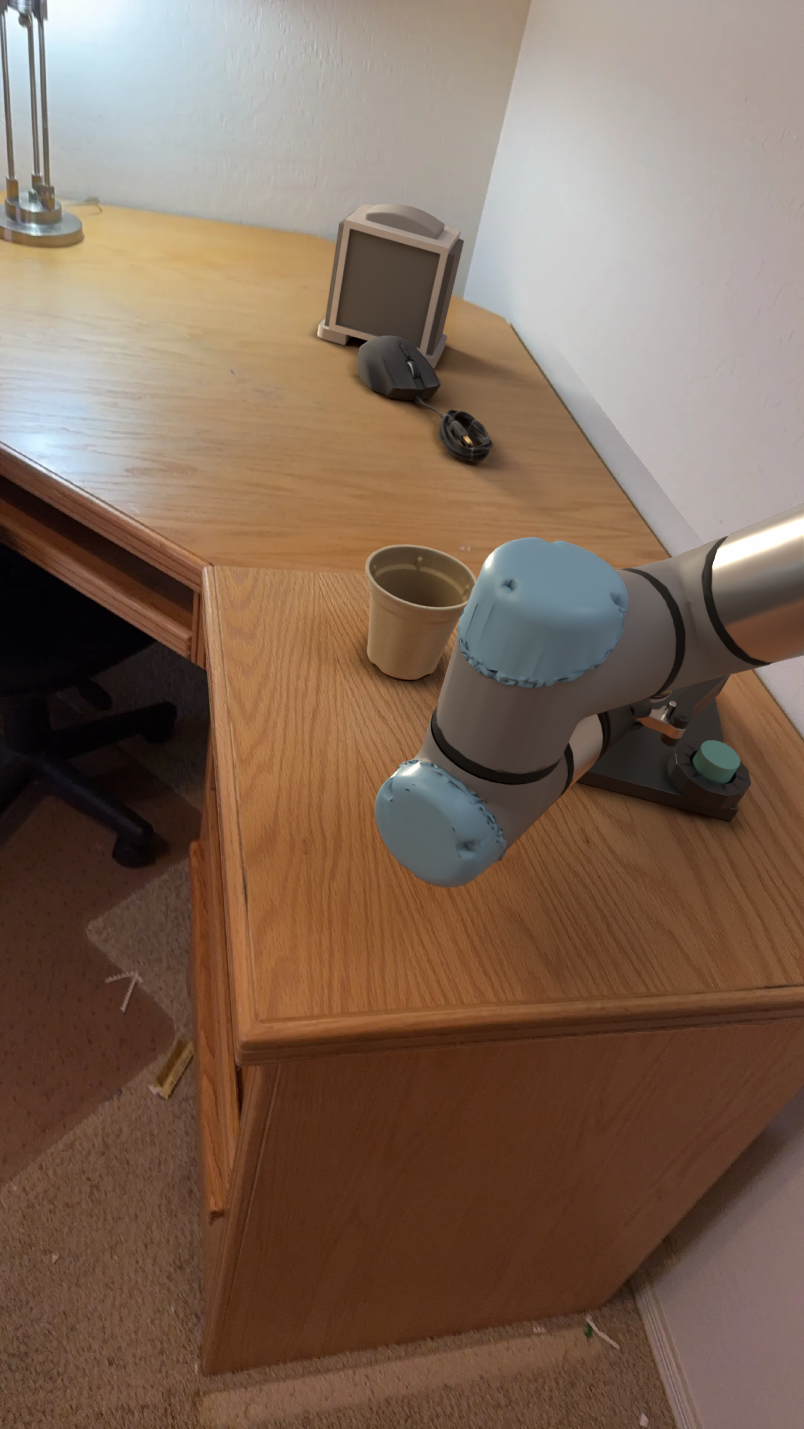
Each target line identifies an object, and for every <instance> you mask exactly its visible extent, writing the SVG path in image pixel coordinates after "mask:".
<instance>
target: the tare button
mask: <svg viewBox="0 0 804 1429" xmlns="http://www.w3.org/2000/svg"><path fill="white" fill-rule="evenodd" d="M724 743H725V742H724ZM724 743H722V742H719V741H714V740H708V741H705V742H703V743H702V745H701V746H700V748H699V750H698V751H697V753H696V755H695V756H694V758H693V760H692V767H693V768H694V769H695V771H696V772H697V773H698V774H699V775H701V776H702V777H704V778H705V779H707V780H709V781H710V782H714V783H718V784H725V783H727V782H729V781H730V779H731V778H732V776H733V774H734V773H735V771H736V770H737V768H738V767H739V765H740V761H741V758H740V755H739V754H738V752H736V750H735V749H734V748H733V747H731V746H729V745H728V744H726V743H725V744H724Z"/></svg>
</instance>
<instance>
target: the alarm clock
mask: <svg viewBox="0 0 804 1429" xmlns="http://www.w3.org/2000/svg"><path fill="white" fill-rule="evenodd" d="M461 233H462V229H459V228H455V227H451V226H448V225H445V223H444V222H442V221H441V220H440V219H439V218H437V217H435V215H432V214H430V213H428V212H426V211H425V210H422V209H420V208H417V207H415V206H411V205H407V204H406V205H405V204H399V203H382V204H376V205H374V204H370V203H367V202H365V203H363V204H362V205H361V206H359V207H358V208H357V209H355V210H353V212H351V213H350V214H348V215H347V216H346V217H345V218H344V219H342V220H341V221H340V222H338V229H337V236H336V243H335V250H334V257H333V263H332V270H331V277H330V283H329V291H328V298H327V304H326V309H325V310H326V311H325V317H324V318H323V319H322V320H321V321H320V322H319V324H318V328H317V337H318V338H320V339H321V340H325V341H329V342H331V343H335V344H339V345H343V346H346V344H347V343H348V342H349V340H350V339H351V338H352V337H354V338H357V339H361V340H364V341H369V340H371V339H373V338H376V337H379V336H397V337H401V338H404V339H406V340H408V341H410V342H411V343H412V344H413V345H414V346H415V347H416V348H417V349H418V350H419V351H420V352H421V354H422V355H423V356H424V357H425V358H426V359H427V361H428V362H429V363H430V365H431V366H432V368H433V369H435V368H436V366H437V363H438V362H439V360H440V358H441V355H442V354H443V352H444V350H445V348H446V344H447V339H448V335H447V334H445V333H444V330H445V327H446V326H445V325H446V320H447V317H448V313H449V308H450V304H451V299H452V295H453V290H454V287H455V286H454V285H455V282H456V279H457V278H456V277H457V273H458V269H459V265H460V260H461V256H462V252H463V247H464V244H465V240H463V239H462V238H460V236H461Z"/></svg>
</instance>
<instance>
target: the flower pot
mask: <svg viewBox="0 0 804 1429" xmlns="http://www.w3.org/2000/svg"><path fill="white" fill-rule="evenodd" d="M364 571H365V572H364V573H365V576H366V579H367V581H368V582H367V585H368V590H369V593H370V594H369V611H368V612H369V615H368V634H367V648H366V653H367V658H368V660H369V661H370V663H372V664H374V665H375V666H376V667H377V668H378V669H379V670H380V671H381V672H382V673H384V674H385V675H387V676H389V677H392V678H396V679H399V680H409V681H411V680H419V679H421V678H423V677H424V676H427V675H432V674H433V673H434V672H435V670H436V669H437V666H438V664H439V662H440V659H441V658H442V656H443V654H444V651H445V649H446V647H447V645H448V643H449V640H450V638H451V637H452V634H453V632H454V631H455V628H456V626H457V625H458V623H459V620H460V616H461V612H462V610H463V609H464V608H465V607H466V605H467V602H468V600H469V597H470V594H471V592H472V589H473V587H474V586H475V584H476V581H477V579H478V577H477V576H476V575H475V573H474V572H473V570H471V569H470V568H469V566H467V565H466V564H465V563H463V562H462V561H461V560H460V559H458V558H456V557H455V556H453V555H451V554H448V553H446V552H444V551H441V550H439V549H435V548H432V547H428V546H424V545H418V544H417V545H415V544H391V545H386V546H384V547H380V548H379V549H377V550H375V551H374V552H372V553H370V554H369V556H368V557H367V559H366V561H365V566H364Z"/></svg>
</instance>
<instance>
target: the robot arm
mask: <svg viewBox="0 0 804 1429" xmlns="http://www.w3.org/2000/svg"><path fill="white" fill-rule="evenodd" d="M799 657H804V503H801V504H799V505H796V506H793V507H792V508H789V509H786V510H784V511H782V512H779V513H776V514H775V515H772V516H770V517H767V518H765V519H763V520H761V521H758V522H755V523H753V524H751V525H748V526H746V527H744V528H741V529H738V530H737V531H736V530H735V531H734V532H731V533H729V534H728V535H725V536H723V537H720V538H717V539H714V540H712V541H709V542H706V543H704V544H702V545H700V546H697V547H695V548H693V549H690V550H688V551H686V552H683V553H681V554H680V553H679V554H678V555H676V556H672V557H668V558H665V559H661V560H658V561H654V562H650V563H645V564H641V565H637V566H632V567H627V568H626V567H625V568H619V569H615V568H614V567H613V566H612V565H611V564H610V563H609V562H608V561H606V560H605V559H603V558H602V557H600V556H599V555H597V554H596V553H594V552H592V551H590V550H588V549H586V548H584V547H582V546H580V545H577V544H574V543H571V542H568V541H565V540H561V539H560V540H556V541H554V542H553V541H548V540H545V539H542V538H540V537H537V536H528V537H522V538H516V539H513V540H509V541H506V542H505V543H503V544H501V545H499V546H498V547H496V548H495V549H494V550H493V551H492V552H491V553H490V554H489V555H488V556H487V557H486V558H485V560H484V562H483V563H482V566H481V569H480V572H479V573H478V576H477V581H476V584H475V586H474V587H473V589H472V592H471V594H470V597H469V600H468V602H467V605H466V607H465V608H464V609H463V610H462V612H461V616H460V618H459V620H458V623H457V634H456V638H455V642H454V645H453V648H452V652H451V655H450V659H449V662H448V666H447V669H446V673H445V675H444V680H443V683H442V685H441V689H440V692H439V695H438V699H437V703H436V705H435V708H434V709H433V711H432V713H431V715H430V719H429V722H428V726H427V729H426V732H425V735H424V739H423V742H422V744H421V747H420V748H419V751H418V752H417V754H416V755H415V756H414V757H413V758H411V759H410V760H408V759H407V760H404V761H403V762H401V763H400V765H399V766H397V769H396V771H394V772H393V773H392V775H391V776H389V777H388V778H387V779H386V780H385V781H384V782H383V783H382V785H381V786H380V788H379V789H378V791H377V794H376V797H375V800H374V817H375V818H374V819H375V824H376V827H377V832H378V833H379V836H380V838H381V840H382V842H383V844H384V845H385V847H386V849H387V850H388V852H389V853H390V854H391V856H392V857H393V859H395V860H396V862H397V863H398V864H399V865H400V866H402V867H403V868H405V869H407V870H408V871H409V872H410V873H412V874H413V875H414V877H415V878H416V879H418V880H420V881H422V882H424V883H426V884H428V885H431V886H435V887H438V888H443V889H444V888H445V889H451V888H459V887H462V886H466V885H468V884H470V883H471V882H473V881H474V880H475V879H476V878H478V877H479V876H480V875H481V874H483V873H484V872H485V871H486V870H488V869H489V868H491V866H493V864H496V863H498V862H500V861H502V860H503V859H504V858H505V857H506V852H507V851H508V850H509V849H510V848H511V847H512V846H513V845H514V844H515V843H516V842H517V841H518V840H519V839H520V838H521V837H522V836H523V835H525V833H526V832H527V831H528V830H529V829H530V828H531V827H532V826H533V825H534V824H535V823H537V821H538V820H539V819H540V818H541V817H542V816H543V815H544V814H545V813H546V812H547V811H549V809H550V808H551V807H552V806H553V805H554V804H555V803H556V802H557V801H558V800H559V799H560V798H561V797H562V796H563V795H564V794H565V793H566V792H567V790H569V789H570V788H571V787H572V786H573V785H574V784H575V783H576V781H577V780H578V779H579V778H580V777H581V776H582V775H583V774H585V773H586V772H587V771H588V770H589V769H590V768H591V767H592V766H593V765H594V763H595V762H597V761H598V760H599V759H600V758H601V757H602V756H603V755H604V754H605V753H606V752H607V751H608V750H610V749H611V748H612V747H613V746H614V745H615V744H616V743H617V742H618V741H619V740H620V739H621V738H622V737H623V736H624V735H625V734H626V733H627V732H629V731H633V730H638V729H640V728H642V727H643V726H647V727H649V728H652V729H654V730H657V731H659V732H661V733H662V734H661V741H662V742H663V743H664V744H665V745H667V746H670V747H674V746H676V745H677V743H678V742H679V740H680V738H681V736H682V735H683V733H684V731H685V729H686V728H687V726H688V724H689V722H690V721H691V720H692V719H693V718H694V717H695V716H696V715H697V714H698V713H699V712H700V711H702V710H703V709H704V708H705V707H706V706H707V705H708V704H709V703H710V702H711V701H712V700H713V699H716V698H717V697H718V696H719V695H720V693H721V692H722V690H723V689H724V687H725V685H726V684H727V681H728V680H729V679H730V676H732V675H735V674H739V673H743V672H746V671H751V670H755V669H760V668H763V667H767V666H770V665H772V664H775V663H779V662H784V661H788V660H791V659H795V658H799ZM690 685H692V686H691V687H689V688H688V689H687V690H686V691H685V692H684V693H682V694H681V695H680V697H679V698H678V700H677V702H674V701H670V702H669V703H668V705H667V706H662V707H661V708H660V709H652V705H651V702H650V698H653V697H655V696H658V695H661V694H663V693H666V692H669V691H672V690H675V689H679V688H683V687H686V686H690Z"/></svg>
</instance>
